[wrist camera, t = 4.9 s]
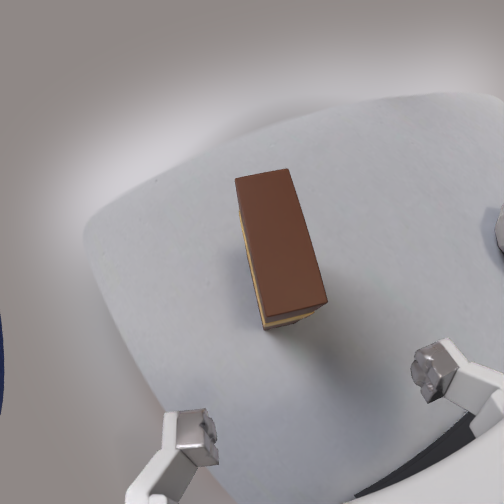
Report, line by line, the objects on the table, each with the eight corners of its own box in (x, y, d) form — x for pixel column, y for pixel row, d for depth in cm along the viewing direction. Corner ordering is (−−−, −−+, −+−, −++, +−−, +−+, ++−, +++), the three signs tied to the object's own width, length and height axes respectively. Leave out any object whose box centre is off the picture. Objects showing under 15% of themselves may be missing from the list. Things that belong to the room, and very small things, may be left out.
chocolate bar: (263, 331, 21) (265, 319, 11) (245, 253, 23) (233, 177, 12) (296, 323, 21) (330, 303, 11) (277, 246, 23) (289, 166, 13)
